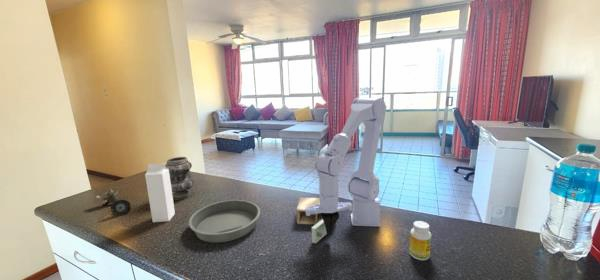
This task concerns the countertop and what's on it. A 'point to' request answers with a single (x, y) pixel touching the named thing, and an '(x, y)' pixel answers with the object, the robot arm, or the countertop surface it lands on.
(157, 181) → the milk
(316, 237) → the door
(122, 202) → the artificial flower
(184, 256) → the countertop surface
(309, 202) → the cabinet
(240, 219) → the cake pan
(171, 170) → the carved stone vase
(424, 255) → the supplement bottle
